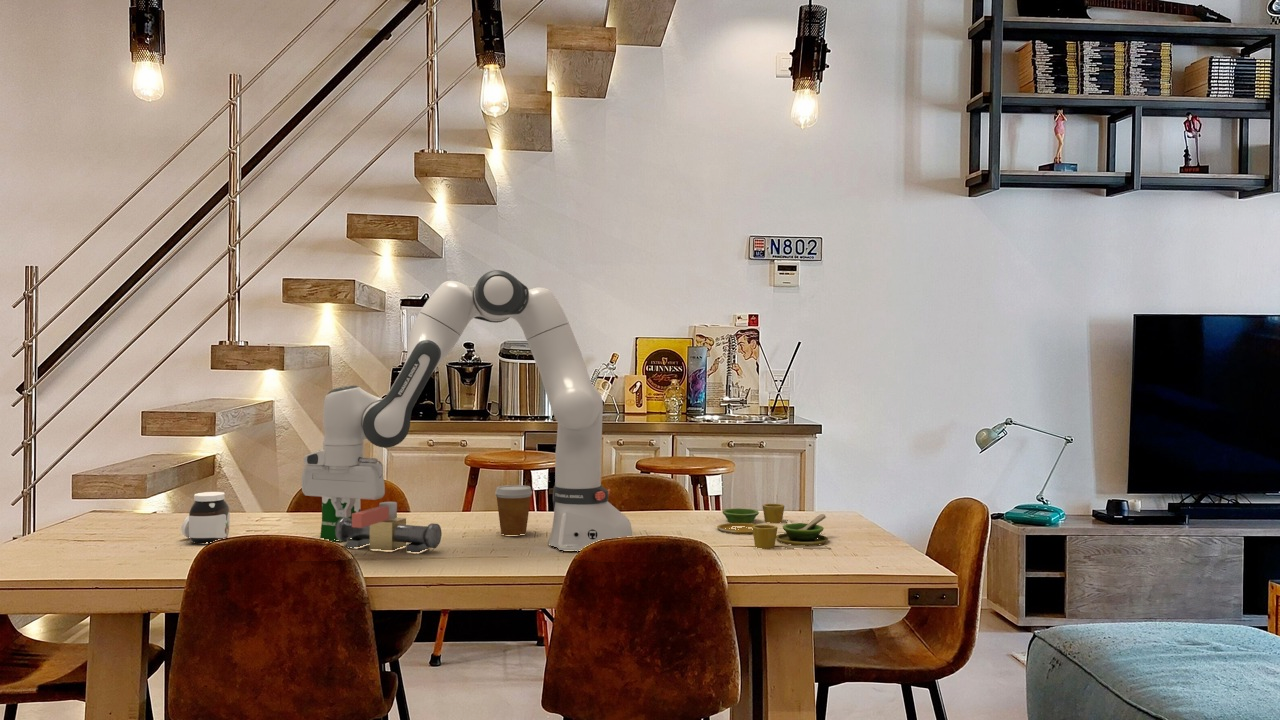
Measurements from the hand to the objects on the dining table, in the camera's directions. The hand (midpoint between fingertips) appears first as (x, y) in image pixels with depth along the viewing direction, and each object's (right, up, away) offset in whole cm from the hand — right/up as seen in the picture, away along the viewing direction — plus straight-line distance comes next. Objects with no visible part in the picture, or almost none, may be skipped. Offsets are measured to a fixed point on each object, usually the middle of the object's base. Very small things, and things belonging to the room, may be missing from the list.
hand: (343, 517), depth 219 cm
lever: (+7, -1, 0) cm, 7 cm away
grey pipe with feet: (+9, -9, +6) cm, 13 cm away
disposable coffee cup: (+36, -9, +24) cm, 44 cm away
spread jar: (-39, -8, +15) cm, 42 cm away
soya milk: (-6, -9, +18) cm, 21 cm away
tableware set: (+102, -10, +28) cm, 106 cm away
